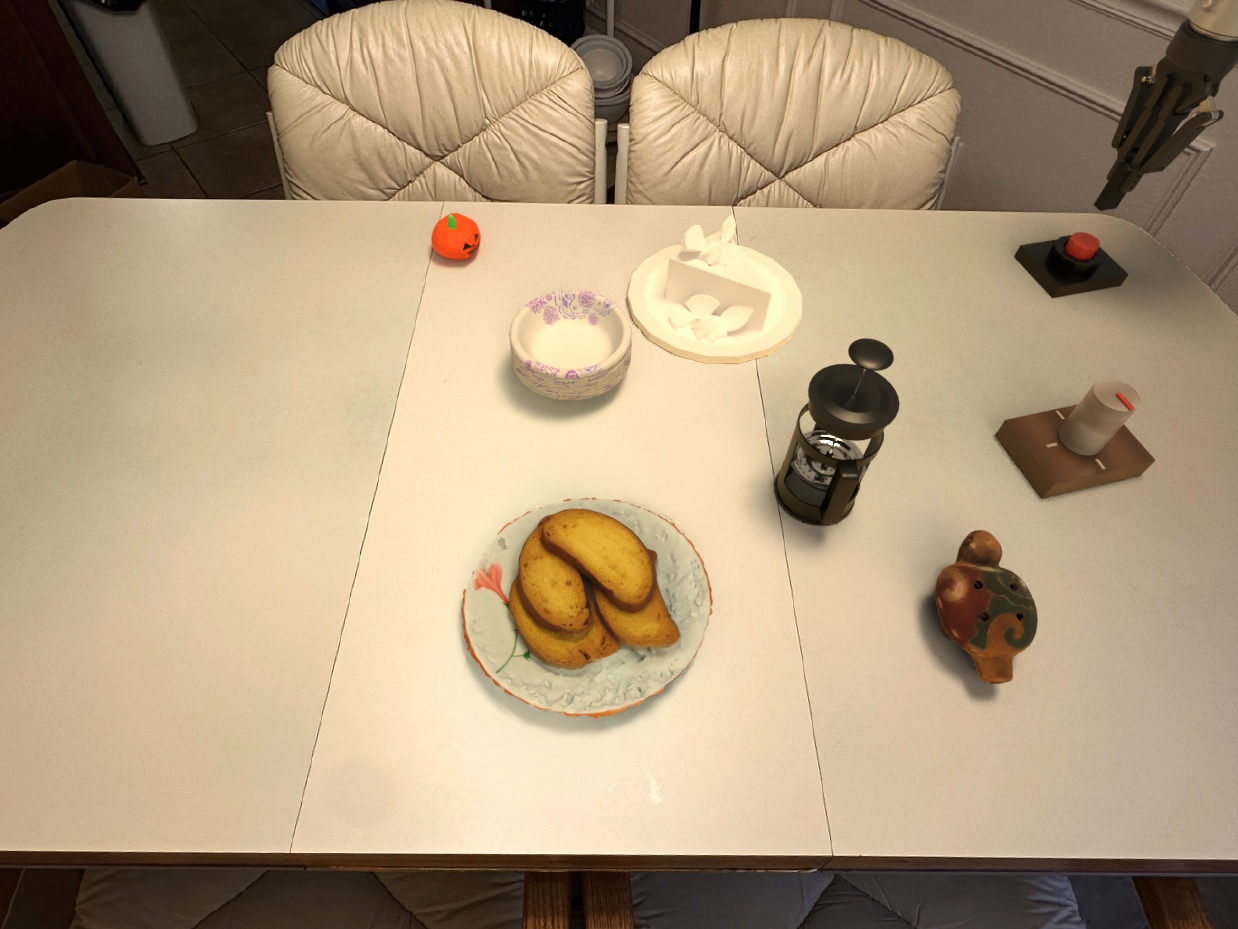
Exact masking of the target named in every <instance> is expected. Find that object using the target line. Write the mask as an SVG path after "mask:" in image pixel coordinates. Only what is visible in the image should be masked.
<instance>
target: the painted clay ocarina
mask: <svg viewBox="0 0 1238 929" xmlns="http://www.w3.org/2000/svg"><path fill="white" fill-rule="evenodd" d="M1002 548H1003V547H1002V545H1001V543H1000V542H999V540H998V539H997V538H996V536H994V535H993V534H992V533H991V532H990V531H987V530H984V529H977V530H973V531H971V532H970V533H968V534H967V535H966V536H965V538H964V539H963V540H962V541H961V544H960V545H959V548H958V551H957V555H956V559H955V563H953V564H950V565H947V566H946V567H944V568H943V569H942V570H941V571H940V573H939V575H938V576H937V578H936V583H935V589H934V591H935V592H934V596H935V598H934V599H935V605H936V610H937V615H938V618H939V621H940V629H941V633H942V634H943V635H944V638H947V639H948V640H949V641H953V642H955V643H956V644H957V645H958V646H959V647H961V649H963V650H964V651H966V652H967V653H968V654H969V655H970V657H971V658H972V660H973V664H974V666H975V669H976V672H977V675H978V677H979V679H980V680H981V681H982V682H984V683H987V684H990V685H1001V684H1006V683H1009V682H1011V681H1013V678H1014V668H1013V666H1014V664H1013V661H1014V658H1015V657H1016V656H1017V655H1018V654H1021V653H1023V652H1024V651H1026V650H1027V649H1028V648H1029V647H1030V645H1031V644H1032V643H1033V641H1034V640H1035V637H1036V634H1037V630H1038V622H1039V620H1038V609H1037V606H1036V602H1035V599H1034V598H1033V595H1032V592H1031V590H1030V589H1029V587H1028V586H1027V584H1026V583H1025V581H1024V580H1023V579H1022V578H1021V577H1020V576H1019V575H1018V574H1017V573H1015V572H1014V571H1012V570H1010V569H1007V568H1005V567H1002V566H1000V562H1001V560H1002V557H1003V549H1002Z"/></svg>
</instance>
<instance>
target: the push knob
mask: <svg viewBox="0 0 1238 929" xmlns="http://www.w3.org/2000/svg"><path fill="white" fill-rule="evenodd" d="M1071 235H1072V236H1071V238H1070V239H1069V241H1068V242H1067V244H1066V246H1065V251H1066V252H1067V253H1068V254H1070V255H1072V256H1074V257H1076V258H1079V259H1085V260H1087V259H1091V258H1092V257H1093V255H1094V254H1095V252H1096V251H1097V249H1098V247H1099V246H1100V247H1101V242H1100V240H1099V238H1097V237H1096V236H1095V235H1093V234H1090V233H1088V232H1083V231H1078V232H1074V233H1072V234H1071Z"/></svg>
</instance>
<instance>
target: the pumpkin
mask: <svg viewBox="0 0 1238 929" xmlns="http://www.w3.org/2000/svg"><path fill="white" fill-rule="evenodd" d="M481 238H482V237H481V232H480V229H479V226H478V224H477V223H476V221H474V219H472V218H470V217H468V216H466V215H464V214H461V213H459V212H451V213H449V214H447V215H445V216H444V217H442V218H441V219H439V220H438V222H436V224H435V225H434V227H433V230H432V233H431V238H430V239H431V246H432V249H433V251H435V253H437V254H438V255H440V256H441V257H444V258H447V259H449V260H466V259H468V258H471V257H472V256H473V254H474V253H475V252H476V251H477V250H478V249H479V247H480V243H481V240H482V239H481Z"/></svg>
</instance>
